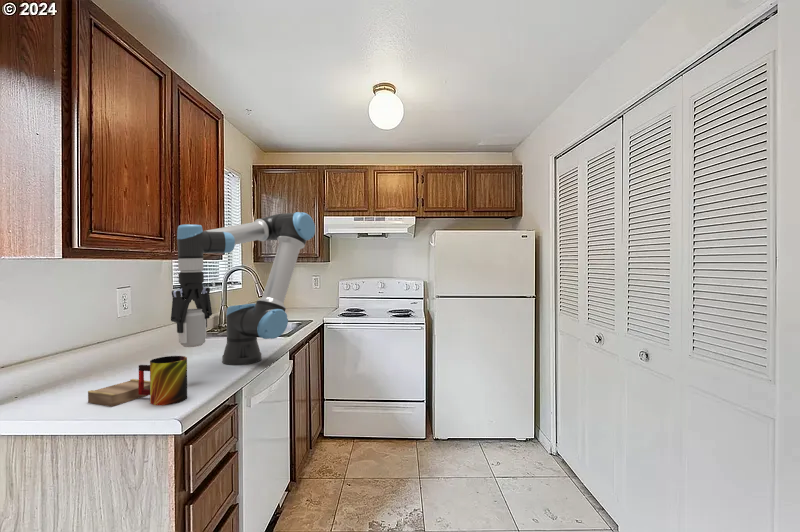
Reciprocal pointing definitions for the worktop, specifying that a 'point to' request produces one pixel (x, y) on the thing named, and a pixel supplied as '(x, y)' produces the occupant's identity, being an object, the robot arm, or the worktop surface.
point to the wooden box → (117, 393)
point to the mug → (165, 380)
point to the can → (195, 328)
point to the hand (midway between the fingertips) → (192, 340)
